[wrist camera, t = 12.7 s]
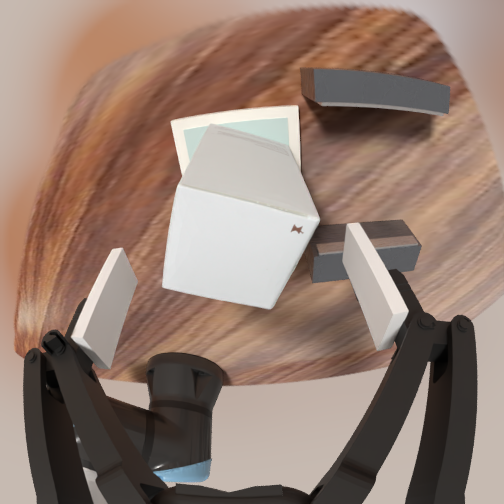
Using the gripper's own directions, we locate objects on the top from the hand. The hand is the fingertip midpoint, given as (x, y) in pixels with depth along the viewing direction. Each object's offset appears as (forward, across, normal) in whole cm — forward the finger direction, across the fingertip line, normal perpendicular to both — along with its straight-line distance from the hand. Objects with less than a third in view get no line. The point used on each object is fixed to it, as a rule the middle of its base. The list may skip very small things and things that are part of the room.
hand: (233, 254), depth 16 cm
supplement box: (+12, 0, +1) cm, 12 cm away
